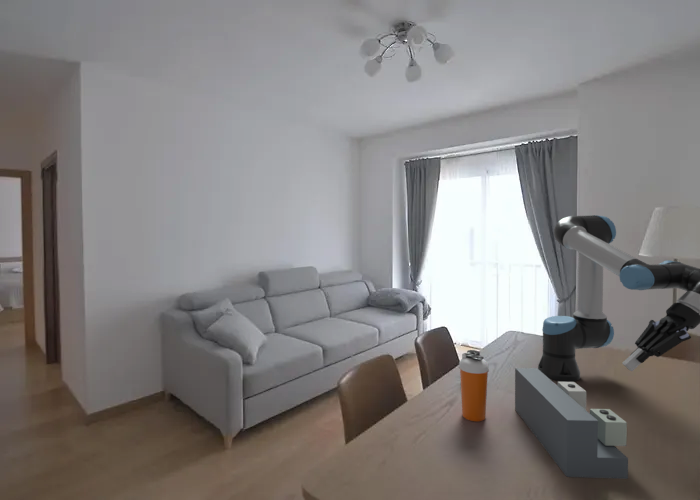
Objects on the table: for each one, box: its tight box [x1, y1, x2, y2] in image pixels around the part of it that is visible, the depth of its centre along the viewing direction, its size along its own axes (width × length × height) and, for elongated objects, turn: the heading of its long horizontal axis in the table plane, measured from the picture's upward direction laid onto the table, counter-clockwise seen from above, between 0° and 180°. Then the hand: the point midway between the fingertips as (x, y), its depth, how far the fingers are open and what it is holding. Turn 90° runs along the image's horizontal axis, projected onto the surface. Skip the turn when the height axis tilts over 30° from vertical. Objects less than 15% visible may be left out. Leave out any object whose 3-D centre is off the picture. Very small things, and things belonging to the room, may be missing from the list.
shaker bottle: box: [458, 352, 490, 422], centre depth 119 cm, size 9×9×20 cm
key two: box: [589, 408, 628, 447], centre depth 96 cm, size 5×7×6 cm
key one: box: [556, 381, 587, 411], centre depth 114 cm, size 5×7×6 cm
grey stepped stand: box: [514, 367, 629, 480], centre depth 106 cm, size 14×34×14 cm, turn 176°
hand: (626, 367), depth 109 cm, fingers closed
